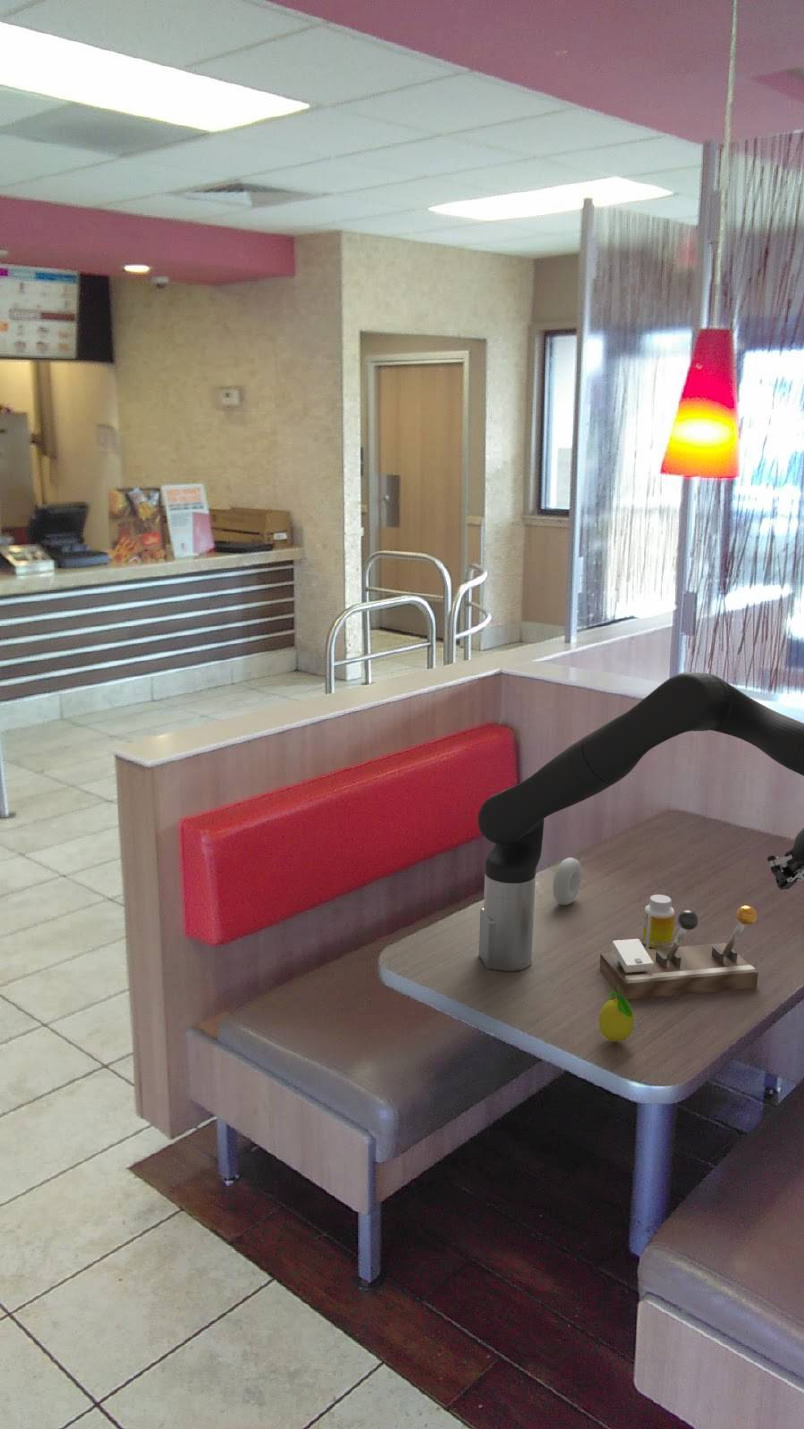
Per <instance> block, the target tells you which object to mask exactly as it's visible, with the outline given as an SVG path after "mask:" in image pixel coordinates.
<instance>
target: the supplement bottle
mask: <svg viewBox="0 0 804 1429" xmlns="http://www.w3.org/2000/svg"><path fill="white" fill-rule="evenodd" d="M648 903H649V904H648V905H646V906H645V908H644V915H643V916H644V917H643V929H642V930H643V931H642V945H643V947H644V948H645V950H647V949H659V948H671V946H672V944H673V942H674V940H673V939H674V926H675V910H674V908H673V907H672V899H671V898H670V897H669V896H668V895H665V894H653V895H651V896H650V898H649V902H648Z"/></svg>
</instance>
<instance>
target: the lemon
mask: <svg viewBox="0 0 804 1429" xmlns="http://www.w3.org/2000/svg"><path fill="white" fill-rule="evenodd" d="M616 991H617V992H616ZM615 997H616V998H615ZM604 1002H605V1004H603V1006H602V1008H601V1009H600V1012H599V1019H598V1023H599V1024H598V1027H599V1030H600V1032H601V1034H602V1036H603V1037H604V1038H606V1039H607V1040H609V1041H612V1042H614V1043H618V1042H621V1041H626V1039H628V1038H629V1037H630V1035H631V1034H632V1031H633V1030H634V1022H635V1018H634V1017H635V1016H634V1012H633V1010H632V1006H631V1004H630V1003H629V1001H628V1000H627V999H626V998H625V996H623V995H621V994H620V991H619V986H618V990H612V991H611V992H610V993H609V995H608V997H607V999H606V1000H605V1001H604Z"/></svg>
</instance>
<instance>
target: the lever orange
mask: <svg viewBox="0 0 804 1429" xmlns="http://www.w3.org/2000/svg"><path fill="white" fill-rule="evenodd" d="M736 919H737V921H738V923H737V925H736V927H735V928H734V930H733V931H732V934H731V935H730V937H729V940H728V941H727V942H726V943H727V945H726V947H725V949H724V950H723V953H724V956H725V957H728V956H729V954H730V952H731V950H732V949H734V947H735V945H736V943H737V941H738V940H739V938H740V935H741V934H742V932H743V930H744V928H745V927H746V926H750V925H753V924H754V923H755V922H756V921H757V919H758V914H757V911H756V910H755V908H754V907H753V906H751V905H742V906H740V907H738V909H737V911H736Z"/></svg>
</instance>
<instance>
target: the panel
mask: <svg viewBox="0 0 804 1429" xmlns="http://www.w3.org/2000/svg"><path fill="white" fill-rule="evenodd" d="M727 943H728V942H723V943H722V942H721V943H720V942H719V943H709V944H699V945H698V944H697V945H685V946H679V948H678V950H677V952H676V954H675V956H674V958H673V960H672V961H667V958H666V956H667V954H668V952H669V950H670V948H659V949H647V950H646V949H645V950H646V952H647V953H648V955H649V956H650V958H651V960H652V961H653V963H654V964H653V969H652V970H651V971H640V972H628V973H626V972H625V971H624V969H623V967H622V965H621V964H620V962H619V960H618V959H617V957H616V955H615V953H614V952H613V951H611V952H604V953H603V952H600V958H599V970H600V971H601V970H602V971H601V973H603V974H604V977H606V978H607V979H608V981H609V982H610V983H611V984H612V985H613V986H614V988H615V990H616V991H618V986H619V991H620V994H621V995H623V996H625V998H626V999H627V1001H628V1000H637V999H648V998H649V999H651V998H658V997H670V996H671V997H672V996H678V995H679V996H681V995H682V996H683V995H693V994H703V993H715V992H724V991H735V990H744V989H745V990H746V989H756V988H758V979H759V978H758V977H759V972H758V970H756V968H755V967H754V966H753V965H752V964H750V963H749V962H747V961H746V960H745V958H743V957H742V956H741V955H740V954H739V953H738V952H737V951H736V950H735V949H734V948H733V949H732V950H731V952H730V954H729V956H728V957H725V956H724V953H723V950H724V949H725V947H726V945H727ZM620 994H619V995H620Z"/></svg>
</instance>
